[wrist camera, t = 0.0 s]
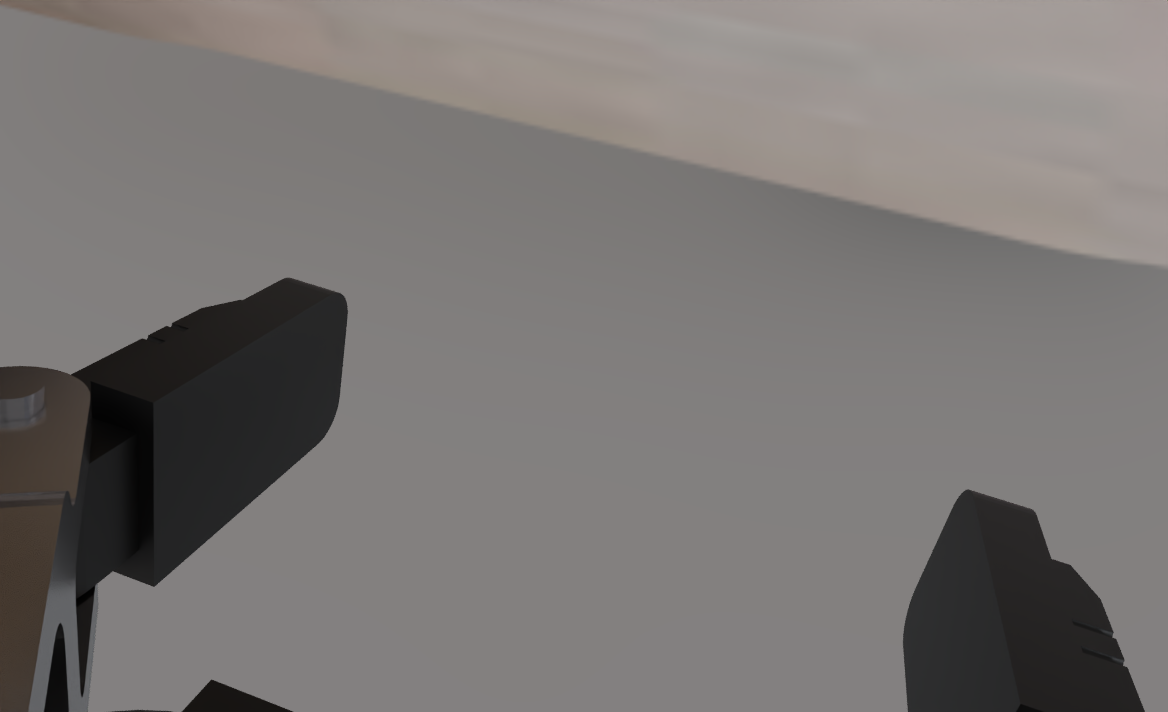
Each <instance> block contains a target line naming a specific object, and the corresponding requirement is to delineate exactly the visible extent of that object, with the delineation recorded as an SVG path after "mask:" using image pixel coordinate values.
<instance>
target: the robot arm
mask: <svg viewBox="0 0 1168 712" xmlns="http://www.w3.org/2000/svg"><path fill="white" fill-rule="evenodd" d="M347 314H348V310H347V302H346V300H345V298H344V296H343V295H342V294H340V293H337V292H334V291H331V290H328V289H325V288H322V287H318V286H315V285H312V284H308V283H305V282H302V281H299V280H295V279H292V278H284V279H282V280H280V281H278V282H276V283H274V284H273V285H271V286H269V287H267V288H265V289H263V290H261V291H259V292H257V293H256V294H254V295H252V296H250V297H248V298H246V299H244V300H238V301H233V302H228V303H224V304H219V305H214V306H210V307H205V308H201V309H199V310H197V311H195V312H193V313H191V314H189V315H188V316H185V317H184V318H181V319H179V320H177V321H175V322H174V323H172V326H171V327H168V326H166V327H164V328H162V329H160V330H158V331H156V332H154V333H152V334H150V335H148V338H147V340H145V339H140V340H138V341H136V342H134V343H132V344H130V345H128V346H126V347H124V348H123V349H120V350H118V351H116V352H115V353H113V354H111V355H109V356H107V357H105V358H103V359H101V360H99V361H97V362H95V363H93V364H91V365H89V366H87V367H85V368H83V369H81V370H79V371H77V372H75V373H73V374H71V375H70V374H67V373H64V372H61V371H58V370H53V369H48V368H41V367H29V366H28V367H27V366H13V367H0V712H88V703H89V693H90V683H91V673H92V663H93V653H94V643H95V633H96V623H97V612H98V584H97V583H99V582H100V581H101V580H102V579H104V578H105V577H106V576H107V575H108V574H110V573H111V572H112V571H114V572H117V573H119V574H122V575H124V576H127V577H130V578H132V579H135V580H138V581H140V582H143V583H145V584H148V585H151V586H153V587H154V586H156V585H157V584H158V583H159V582H160V581H161V580H163V579H164V578H165V577H166V576H167V575H168V574H169V573H171V572H172V571H173V570H174V569H175V568H176V567H177V566H179V565H180V564H181V563H182V562H183V561H184V560H185V559H187V558H188V557H189V556H190V555H191V554H192V553H193V552H195V551H196V550H197V549H198V548H199V547H200V546H201V545H203V544H204V543H205V542H206V541H207V540H208V539H210V538H211V537H212V536H213V535H214V534H215V533H216V532H217V531H219V530H220V529H221V528H222V527H223V526H224V525H225V524H227V523H228V522H229V521H230V520H231V519H232V518H234V517H235V516H236V515H237V514H238V513H239V512H240V511H242V510H243V509H244V508H245V507H246V506H247V505H249V504H250V503H251V502H252V501H253V500H254V499H255V498H256V497H258V496H259V495H260V494H261V493H262V492H263V491H265V490H266V489H267V488H268V487H269V486H270V485H271V484H273V483H274V482H275V481H276V480H277V479H278V478H279V477H281V476H282V475H283V474H284V473H285V472H286V471H287V470H288V469H290V468H291V467H292V466H293V465H294V464H296V463H297V462H298V461H299V460H300V459H301V458H302V457H304V456H305V455H306V454H307V453H308V452H309V451H310V450H312V449H313V448H314V447H315V446H316V445H317V444H318V443H319V442H320V441H321V440H322V439H323V438H324V437H325V435H326V433H327V432H328V430H329V428H330V426H331V424H332V422H333V420H334V417H335V415H336V411H337V408H338V403H339V397H340V387H341V377H342V367H343V356H344V345H345V336H346V326H347ZM1112 635H1113V630H1112V627H1111V625H1110V622H1109V620H1108V617H1107V615H1106V612H1105V609H1104V607H1103V604H1102V602H1101V599H1100V598H1099V597H1098V596H1097V595H1096V594H1095V593H1094V591H1093V590H1092V589H1091V588H1090V587H1089V586H1088V585H1087V584H1086V582H1085V581H1084V580H1083V579H1082V578H1081V577H1080V575H1078V573H1077V572H1076V571H1075V570H1074V569H1073V568H1072V566H1071V565H1069V564H1065V563H1062V562H1059V561H1056V560H1052V559H1051V557H1050V554H1049V551H1048V548H1047V545H1046V542H1045V539H1044V536H1043V533H1042V530H1041V527H1040V524H1039V521H1038V518H1037V515H1036V513H1035V512H1034V511H1033V510H1032V509H1029V508H1026V507H1023V506H1020V505H1017V504H1013V503H1010V502H1007V501H1004V500H1000V499H997V498H994V497H991V496H987V495H984V494H981V493H978V492H975V491H971V490H965V491H964V492H963V493H962V494H961V495H960V496H959V498H958V499H957V501H956V502H955V504H954V506H953V508H952V510H951V513H950V515H949V517H948V519H947V521H946V523H945V526H944V528H943V530H942V532H941V534H940V537H939V539H938V541H937V543H936V545H935V547H934V549H933V552H932V554H931V556H930V558H929V560H928V563H927V565H926V567H925V569H924V572H923V573H922V576H921V578H920V580H919V582H918V584H917V587H916V589H915V591H914V593H913V596H912V599H911V602H910V605H909V608H908V612H907V616H906V621H905V626H904V634H903V648H904V663H905V677H906V690H907V703H908V704H907V705H908V712H1145V711H1144V708H1143V706H1142V703H1141V701H1140V698H1139V696H1138V693H1137V691H1136V688H1135V686H1134V683H1133V681H1132V678H1131V675H1130V673H1129V670H1128V668H1127V667H1125V666H1123V662H1124V658H1123V655H1122V653H1121V650H1120V647H1119V645H1118V642H1117V640H1116V639H1114V638H1112ZM115 712H171V711H149V710H131V711H115ZM182 712H292V711H290V710H287V709H285V708H282V707H280V706H277V705H275V704H272V703H270V702H267V701H265V700H262V699H260V698H257V697H255V696H252V695H249V694H247V693H244V692H242V691H239V690H237V689H234V688H232V687H229V686H227V685H224V684H221V683H219V682H216V681H214V680H211V681H210V682H209V683H208V684H207V685H206V686H205V687H204V688H203V689H202V690H201V692H200V693H199V694H198V695H197V696H196V697H195V698H194V699H193V700H192V701H191V702H190V704H189V705H188V706H187V707H186V708H185V709H184V710H183V711H182Z"/></svg>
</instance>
